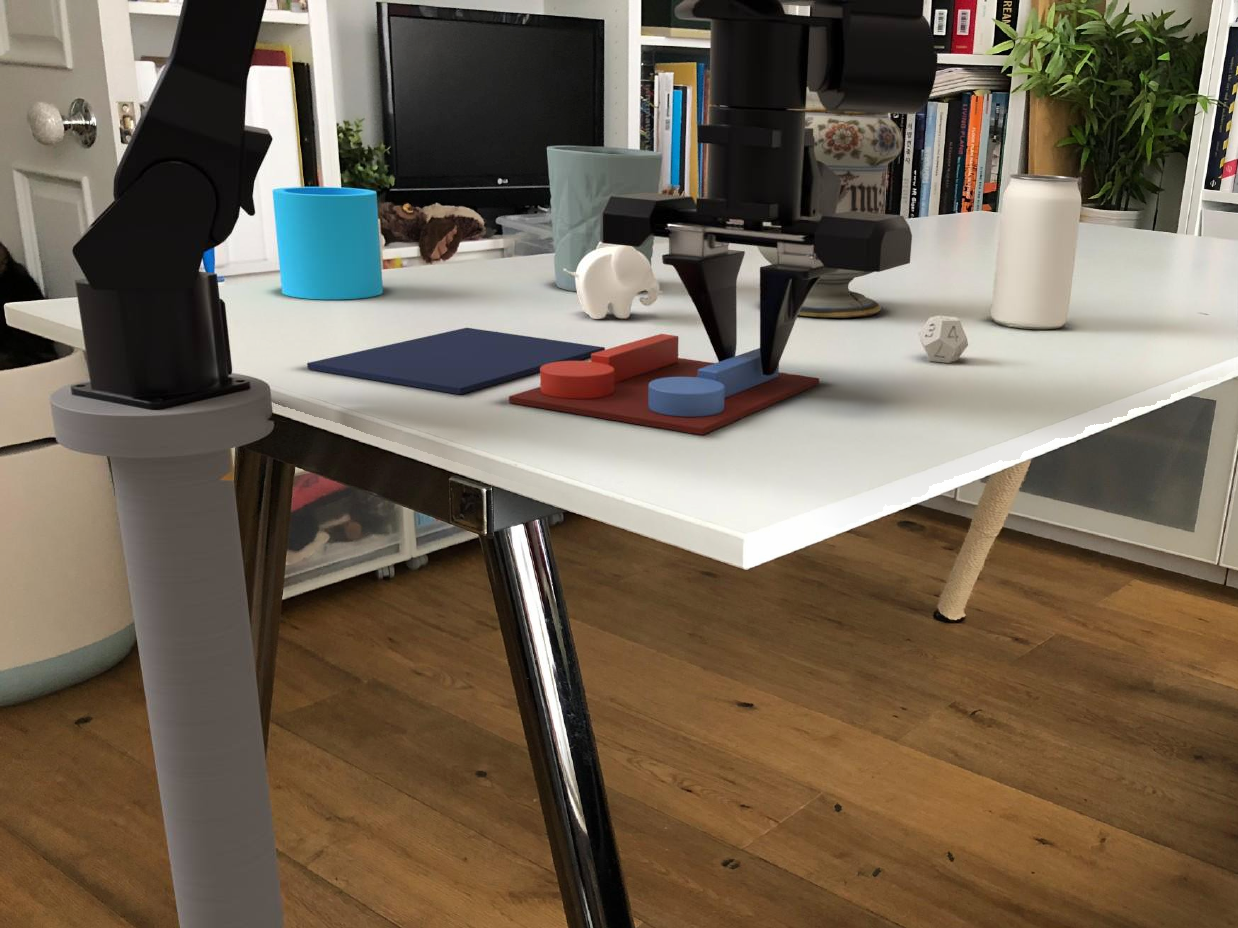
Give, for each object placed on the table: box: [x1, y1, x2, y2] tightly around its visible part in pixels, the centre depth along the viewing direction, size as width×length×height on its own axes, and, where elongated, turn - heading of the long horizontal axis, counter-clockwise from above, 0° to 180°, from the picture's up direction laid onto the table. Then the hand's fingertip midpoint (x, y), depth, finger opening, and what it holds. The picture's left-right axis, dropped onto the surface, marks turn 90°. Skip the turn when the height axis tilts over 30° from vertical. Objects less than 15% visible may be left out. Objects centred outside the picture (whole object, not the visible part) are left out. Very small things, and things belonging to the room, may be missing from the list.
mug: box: [271, 186, 384, 300], centre depth 111 cm, size 12×8×8 cm
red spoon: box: [539, 333, 679, 399], centre depth 82 cm, size 13×4×2 cm, turn 155°
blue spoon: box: [648, 347, 780, 417], centre depth 80 cm, size 13×4×2 cm, turn 155°
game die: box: [918, 315, 969, 364], centre depth 95 cm, size 4×4×3 cm
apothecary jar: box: [756, 86, 904, 319], centre depth 111 cm, size 12×12×18 cm
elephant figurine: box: [563, 242, 664, 320], centre depth 105 cm, size 7×8×6 cm
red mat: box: [508, 357, 820, 436], centre depth 81 cm, size 16×13×1 cm
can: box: [990, 173, 1082, 331], centre depth 110 cm, size 6×6×12 cm
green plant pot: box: [546, 145, 663, 292], centre depth 118 cm, size 10×10×12 cm
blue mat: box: [306, 327, 606, 395], centre depth 87 cm, size 16×12×1 cm
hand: (748, 371), depth 83 cm, fingers open, 3 cm apart
